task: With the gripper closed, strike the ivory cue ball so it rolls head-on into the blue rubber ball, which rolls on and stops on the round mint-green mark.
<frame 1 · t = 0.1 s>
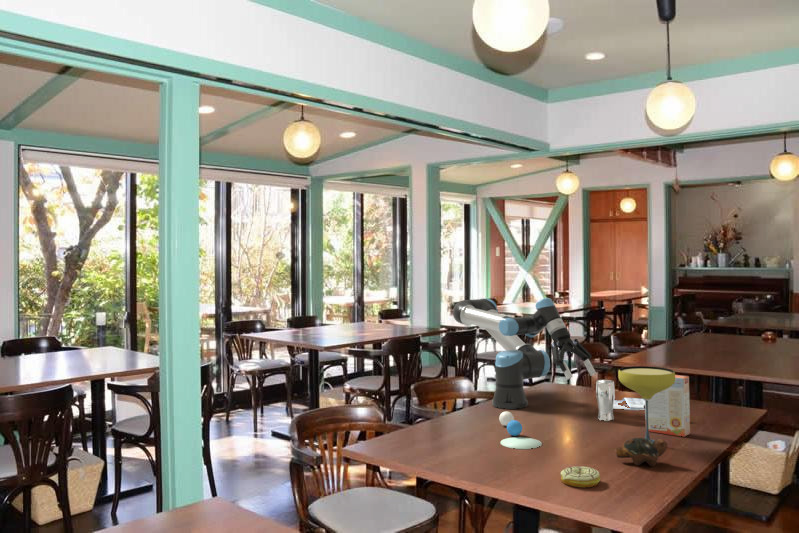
hand: (581, 376, 265), 15 cm above the table, tool tilted 35°, fingers open, 13 cm apart
snack bag: (627, 407, 279), on the table
icecream: (664, 420, 252), on the table
beer glass: (605, 420, 255), on the table
cocktail glass: (647, 444, 220), on the table
blue object ball: (514, 428, 234), on the table
cracker box: (667, 433, 234), on the table
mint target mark: (521, 443, 224), on the table
decorated donut: (580, 483, 184), on the table
decorative turtle: (641, 464, 200), on the table
white cue ball: (506, 418, 248), on the table
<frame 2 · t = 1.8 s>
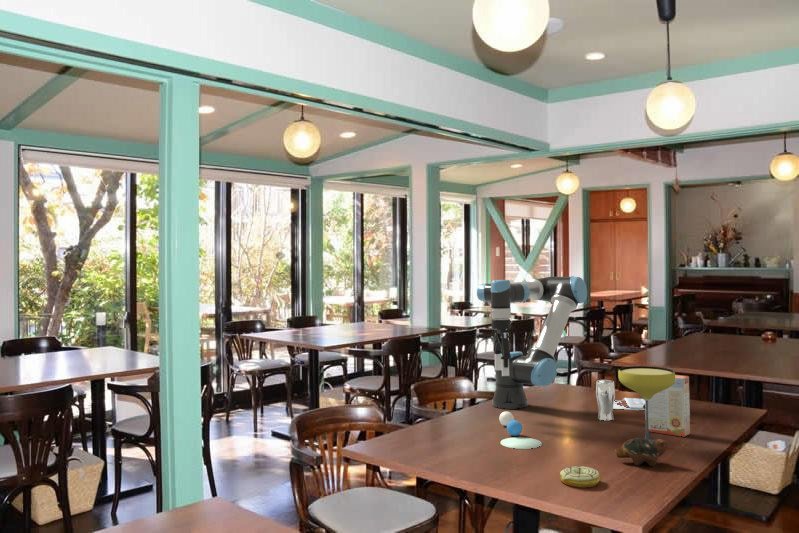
hand: (501, 373, 258), 19 cm above the table, tool pointing down, fingers open, 12 cm apart
nothing on the table moved.
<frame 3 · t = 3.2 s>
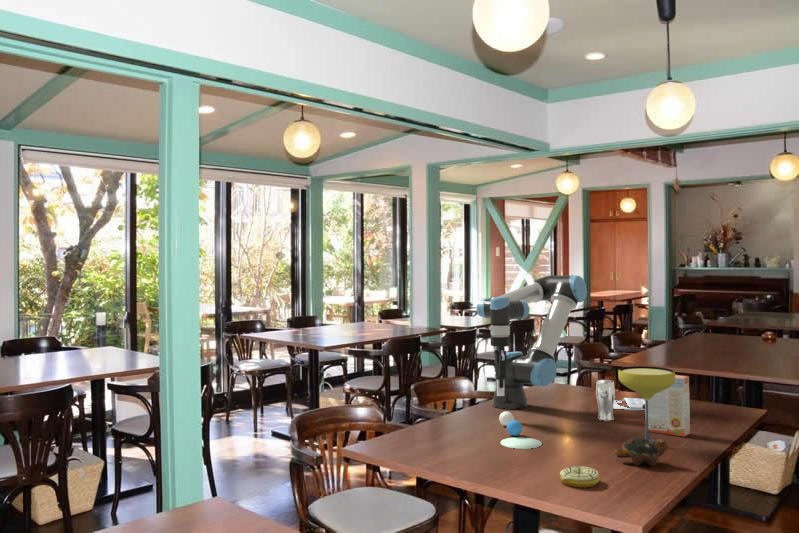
hand: (500, 395, 257), 10 cm above the table, tool pointing down, fingers closed
nothing on the table moved.
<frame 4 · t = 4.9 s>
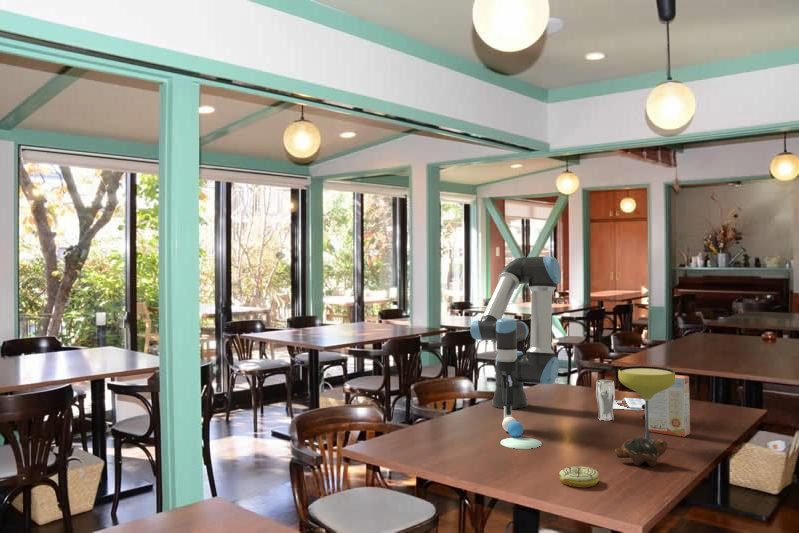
hand: (507, 422, 245), 2 cm above the table, tool pointing down, fingers closed
blue object ball: (515, 429, 233), on the table
white cue ball: (509, 424, 240), on the table
everything else where it was.
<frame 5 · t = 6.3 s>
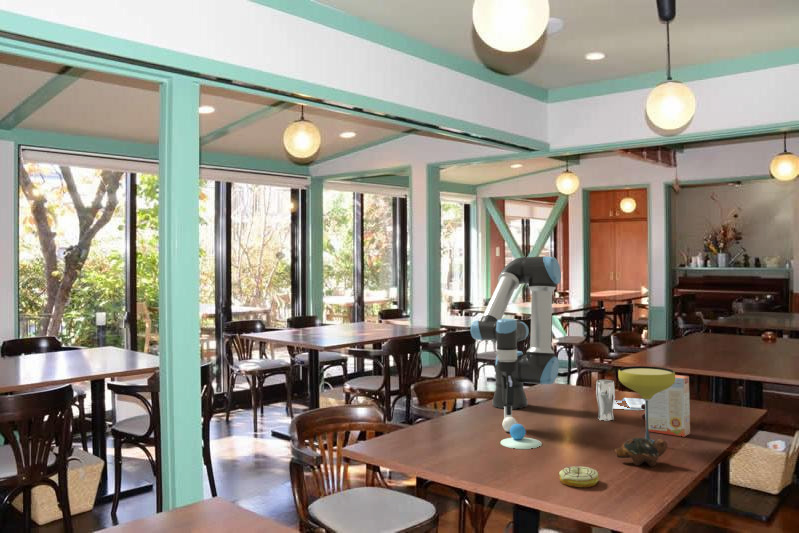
hand: (508, 422, 245), 2 cm above the table, tool pointing down, fingers closed
blue object ball: (517, 431, 229), on the table
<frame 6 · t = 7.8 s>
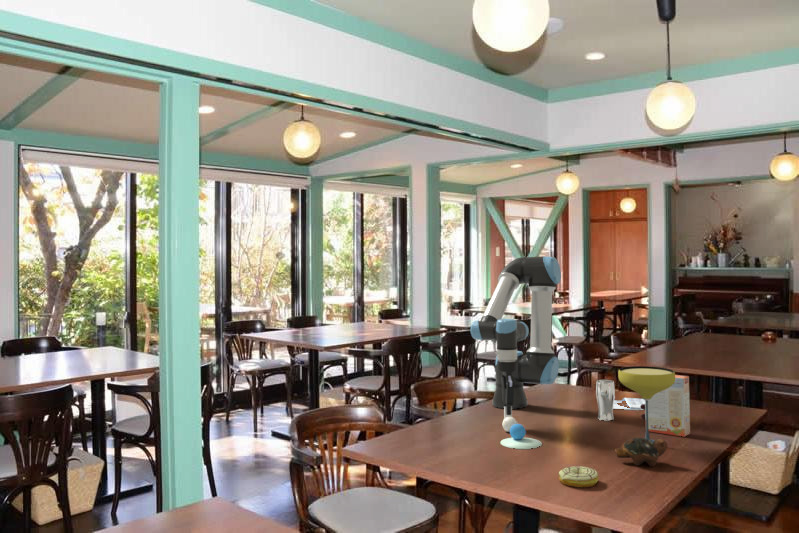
hand: (508, 422, 245), 2 cm above the table, tool pointing down, fingers closed
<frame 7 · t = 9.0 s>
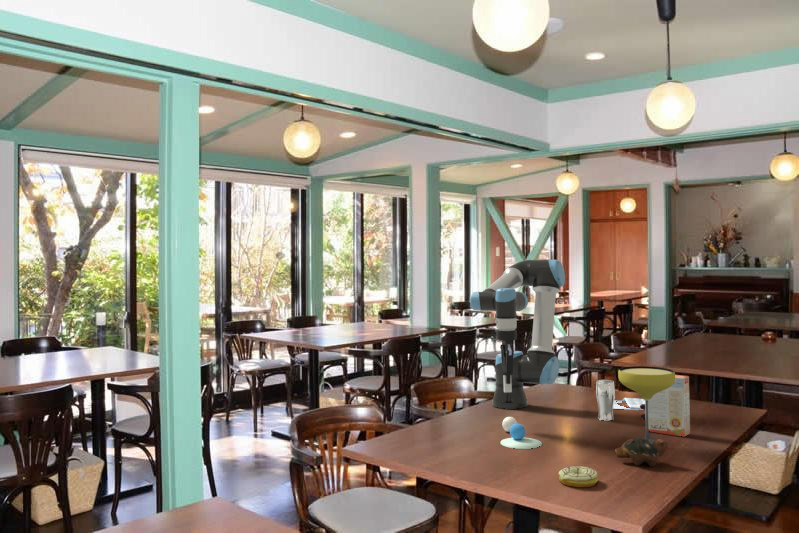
hand: (507, 391, 245), 14 cm above the table, tool pointing down, fingers closed
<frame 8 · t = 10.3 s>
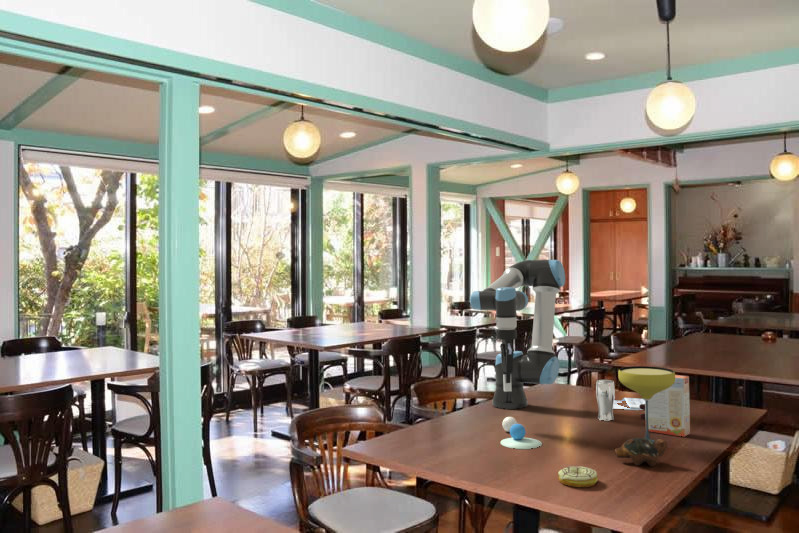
hand: (507, 391, 245), 14 cm above the table, tool pointing down, fingers closed
at the end: blue object ball 4.9 cm from the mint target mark (horizontally); blue object ball never touched the robot; white cue ball first touched blue object ball at 4.7 s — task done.
